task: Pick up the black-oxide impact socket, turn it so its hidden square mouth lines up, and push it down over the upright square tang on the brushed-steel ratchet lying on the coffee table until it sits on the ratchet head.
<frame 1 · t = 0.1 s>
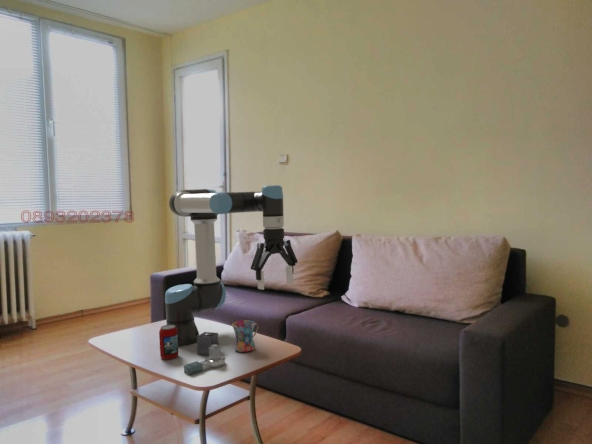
hand: (275, 286, 164), 28 cm above the table, fingers open, 13 cm apart
beverage can: (169, 357, 173), on the table
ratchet: (215, 364, 164), on the table
mug: (247, 349, 180), on the table
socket: (208, 352, 177), on the table
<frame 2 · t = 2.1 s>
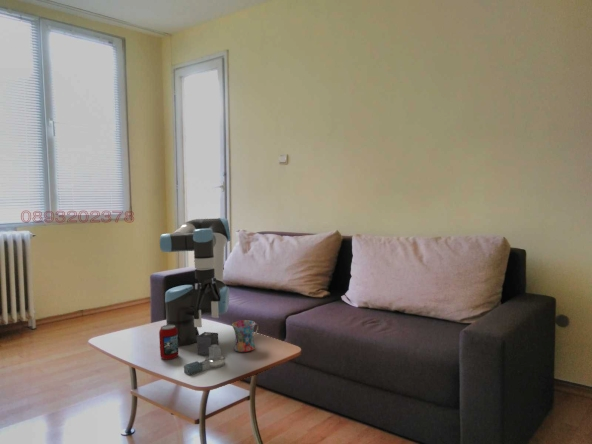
hand: (207, 322, 176), 12 cm above the table, fingers open, 13 cm apart
nothing on the table moved.
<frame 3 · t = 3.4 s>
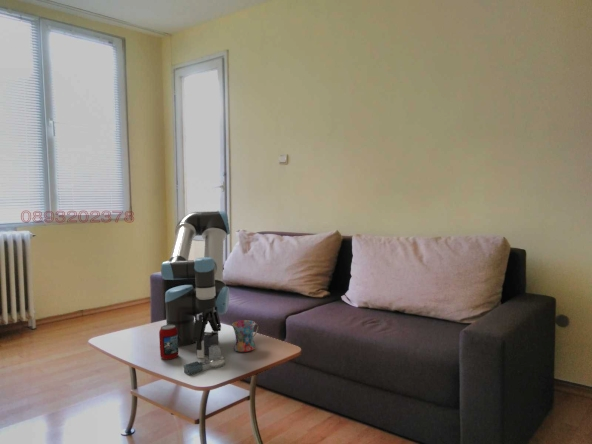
hand: (208, 352, 177), 0 cm above the table, fingers open, 11 cm apart
nothing on the table moved.
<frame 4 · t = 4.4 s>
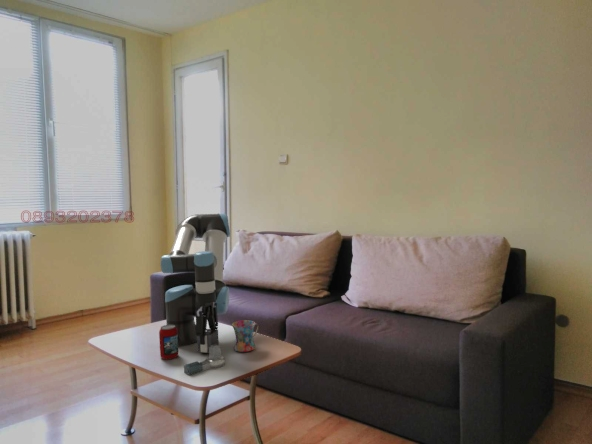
hand: (208, 348, 177), 1 cm above the table, fingers closed on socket, 6 cm apart
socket: (208, 349, 177), point 1 cm above the table, touching gripper
everything else where it was.
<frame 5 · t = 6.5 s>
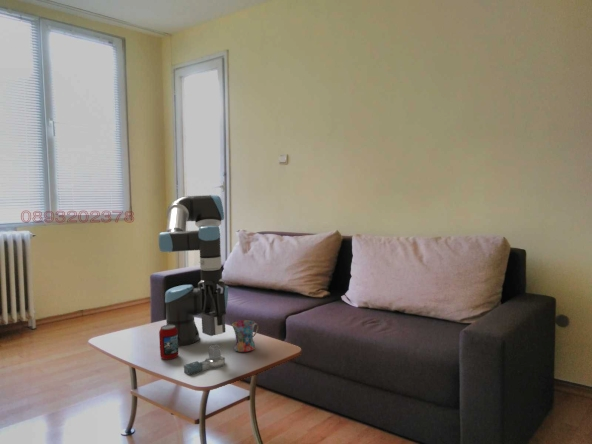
hand: (213, 331, 163), 12 cm above the table, fingers closed on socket, 6 cm apart
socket: (213, 332, 163), point 12 cm above the table, touching gripper
everything else where it was.
when the fingers open (3 cm above the table, at t = 8.2 s): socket drops 1 cm, resting on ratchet.
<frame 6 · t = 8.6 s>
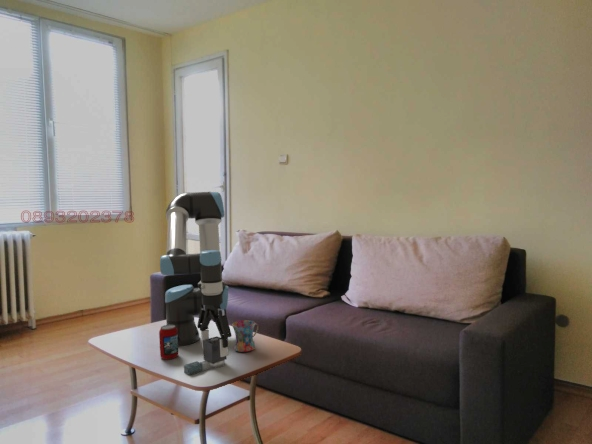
hand: (214, 351, 163), 5 cm above the table, fingers open, 12 cm apart
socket: (215, 359, 163), point 2 cm above the table, touching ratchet
everything else where it was.
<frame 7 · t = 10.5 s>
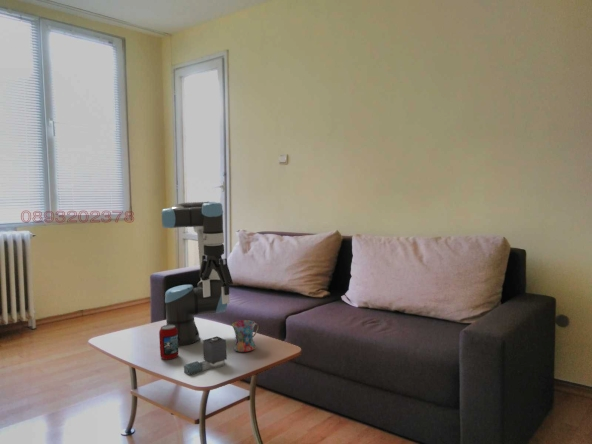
hand: (216, 299, 169), 22 cm above the table, fingers open, 13 cm apart
nothing on the table moved.
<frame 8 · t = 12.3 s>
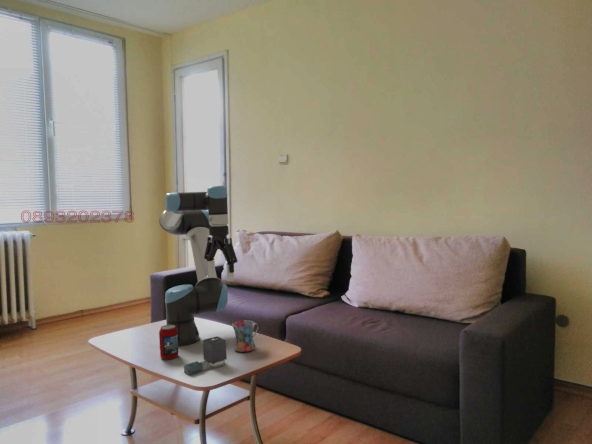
hand: (221, 278, 177), 29 cm above the table, fingers open, 13 cm apart
nothing on the table moved.
at the end: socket 0.0 cm off-centre on the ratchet, point 2.0 cm above the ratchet's base; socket tilted 0°; the gripper is holding nothing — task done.
